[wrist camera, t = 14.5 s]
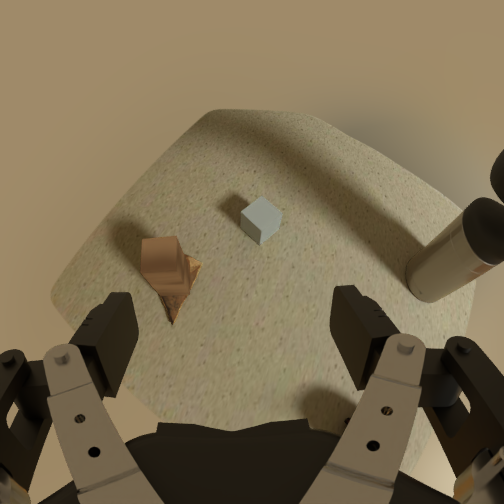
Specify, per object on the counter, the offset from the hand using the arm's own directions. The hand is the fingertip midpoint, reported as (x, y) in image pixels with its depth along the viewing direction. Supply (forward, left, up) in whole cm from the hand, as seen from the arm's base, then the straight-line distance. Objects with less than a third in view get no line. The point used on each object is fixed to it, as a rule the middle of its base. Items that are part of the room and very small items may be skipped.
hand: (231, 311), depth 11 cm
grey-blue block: (-12, -19, -33) cm, 39 cm away
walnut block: (+4, -15, -31) cm, 35 cm away
